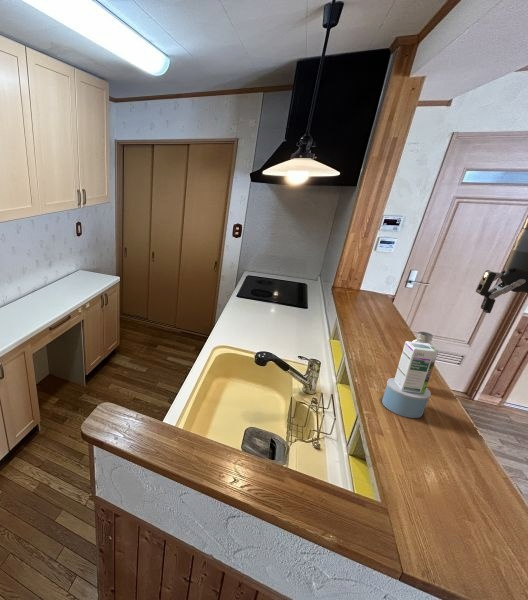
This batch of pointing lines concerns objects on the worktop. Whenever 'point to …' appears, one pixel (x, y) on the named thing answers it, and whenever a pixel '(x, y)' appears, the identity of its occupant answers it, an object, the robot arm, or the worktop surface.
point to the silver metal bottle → (424, 337)
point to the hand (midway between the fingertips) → (509, 314)
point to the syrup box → (415, 367)
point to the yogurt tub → (404, 400)
